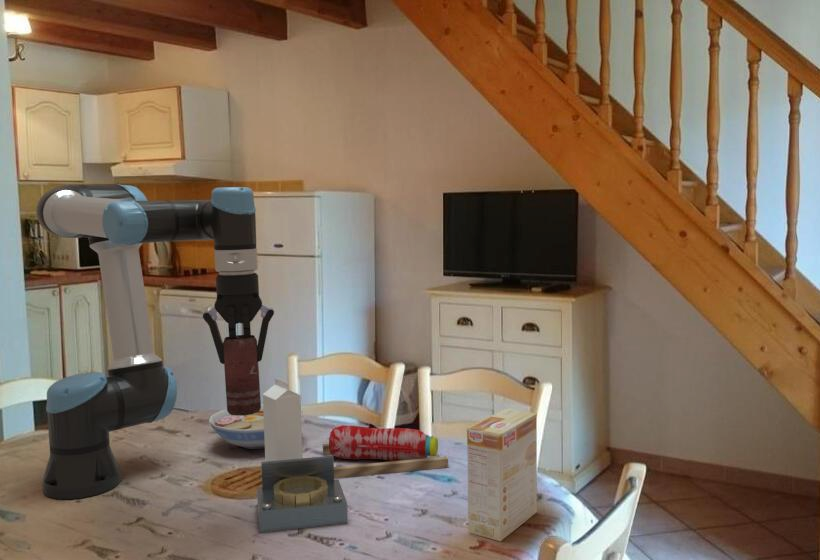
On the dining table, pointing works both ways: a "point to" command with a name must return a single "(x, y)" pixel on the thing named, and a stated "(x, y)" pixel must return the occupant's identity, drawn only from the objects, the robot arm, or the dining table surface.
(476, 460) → the coffeecake box
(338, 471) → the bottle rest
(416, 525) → the dining table surface
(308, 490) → the bolted ring bracket
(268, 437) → the milk
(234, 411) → the can
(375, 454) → the water bottle
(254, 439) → the ramen bowl
